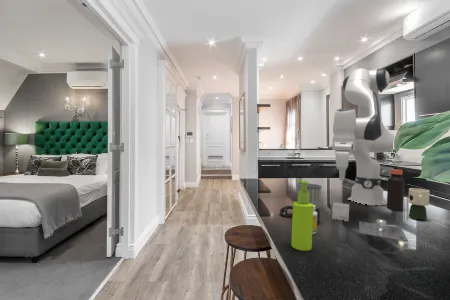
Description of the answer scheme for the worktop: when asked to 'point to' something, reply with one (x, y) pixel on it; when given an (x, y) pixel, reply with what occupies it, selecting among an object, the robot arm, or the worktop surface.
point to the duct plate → (385, 234)
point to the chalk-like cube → (340, 211)
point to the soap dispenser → (302, 220)
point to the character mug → (418, 203)
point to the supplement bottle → (314, 221)
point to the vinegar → (395, 190)
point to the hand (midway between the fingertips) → (342, 178)
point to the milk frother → (313, 198)
